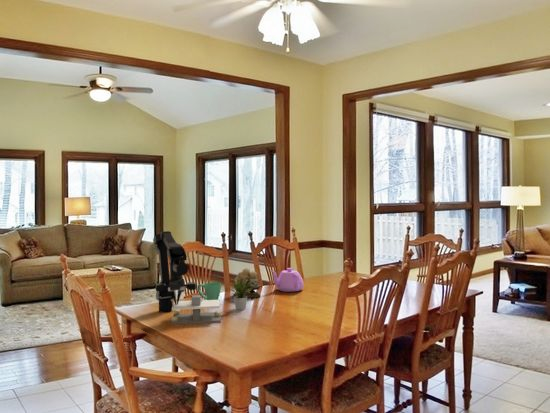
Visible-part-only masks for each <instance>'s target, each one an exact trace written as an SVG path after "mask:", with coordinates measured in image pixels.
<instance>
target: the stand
mask: <svg viewBox="0 0 550 413" xmlns="http://www.w3.org/2000/svg"><path fill="white" fill-rule="evenodd" d="M170 320H171V321H170V325H189V324H190V325H193V324H214V323H215V324H217V323H220V324H221V323H222V313H221V311H219V310H218V311H212V312H209V311H208V312H201V309H192V312H186V313H185V312H183V313H181V310H173V315H172V316H171V318H170Z"/></svg>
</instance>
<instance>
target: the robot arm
mask: <svg viewBox="0 0 550 413" xmlns="http://www.w3.org/2000/svg"><path fill="white" fill-rule="evenodd" d="M152 240H153V241H152V242H153V245H154V248H155V250H156V251H157V253H158V263H159V275H160V281H159V283H157V284H156V285H155V292H156V294H155V299H156V300H157V301H158V313H171V312H172V311H173V310H172V306H173V304H174V302H175V305H176V302H177V304H178V302H179V301H180V298H181V295H182V293H184V292H185V290H186V289H187V290H188V291H195V290H197V282H195V281H193V282H192V281H191V282H190V281H189V282H187V284H186V283H185V281H186V280H185V278H183V276H185V275H186V274H187V273H188V272H189V266H188V264H187V263H185V261H187V258H188V256H187V253H186V250H185V248H184V247H183V245H182V244H180V243H178V242H177V241H176V240H175V239H174V237H173V235H172V232H171V231H168V230H167V231H166V230H165V231H160V232H159V233H158V234H155V236H153V238H152ZM176 291H177V294H176ZM172 299H173V300H172Z"/></svg>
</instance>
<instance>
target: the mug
mask: <svg viewBox="0 0 550 413" xmlns="http://www.w3.org/2000/svg"><path fill="white" fill-rule="evenodd" d="M202 288H203V289H204V292H203V291H202V290H201V289H202ZM221 289H222V284H221V282H206V283H199V284H198V286H197V292H198V295H201V298H202V299H203V300H219V298H220V294H221Z"/></svg>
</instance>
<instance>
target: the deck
mask: <svg viewBox="0 0 550 413" xmlns="http://www.w3.org/2000/svg"><path fill="white" fill-rule="evenodd" d="M193 309H200V310H207V309H209V310H211V309H220V299H218V300H206V299H203V298H202V296H201V295H200V294H192V295H191V300H179V302H178V304H177V302H176V305H175V302H174V301H173V306H172V311H174V310H180V311H182V310H183V311H185V310H193Z"/></svg>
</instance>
